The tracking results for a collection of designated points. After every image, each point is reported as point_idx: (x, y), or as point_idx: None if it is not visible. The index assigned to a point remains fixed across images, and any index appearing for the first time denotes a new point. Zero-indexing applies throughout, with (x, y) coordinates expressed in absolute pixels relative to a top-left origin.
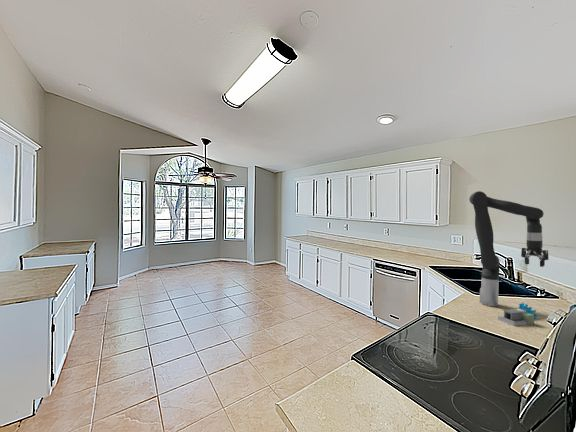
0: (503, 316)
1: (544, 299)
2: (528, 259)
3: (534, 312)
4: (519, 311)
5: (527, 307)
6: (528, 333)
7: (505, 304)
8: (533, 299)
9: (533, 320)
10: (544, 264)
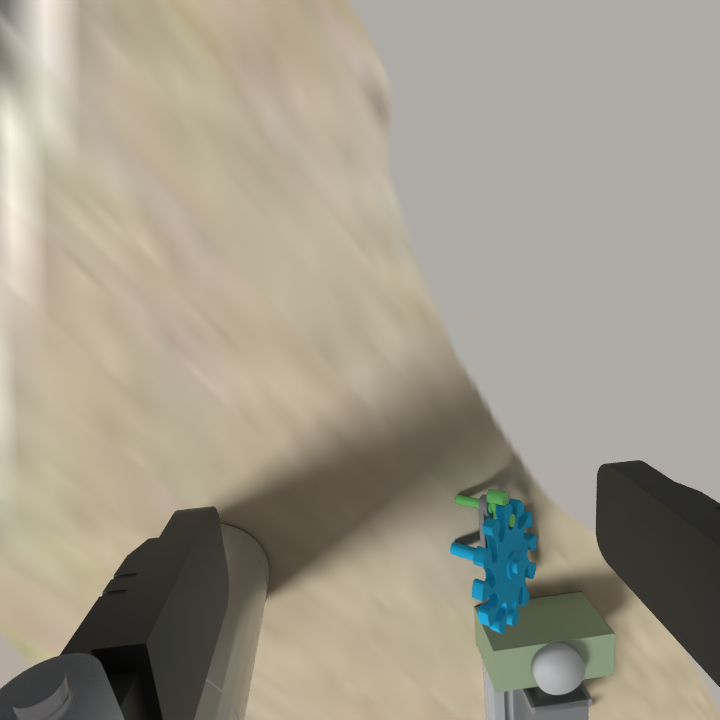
0: (498, 715)
1: None
2: (167, 643)
3: (510, 510)
4: (576, 705)
5: (499, 562)
6: (665, 717)
7: (224, 453)
8: (88, 39)
9: (594, 611)
10: (717, 507)
